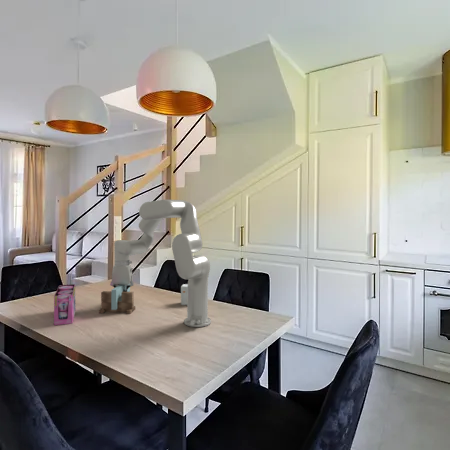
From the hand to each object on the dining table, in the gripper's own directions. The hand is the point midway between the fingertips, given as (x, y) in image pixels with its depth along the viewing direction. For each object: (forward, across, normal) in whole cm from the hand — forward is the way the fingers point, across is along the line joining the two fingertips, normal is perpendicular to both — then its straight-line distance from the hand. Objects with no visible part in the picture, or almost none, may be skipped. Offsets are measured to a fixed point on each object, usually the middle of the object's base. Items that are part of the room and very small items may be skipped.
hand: (122, 296), depth 174 cm
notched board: (+3, 0, +1) cm, 4 cm away
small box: (+6, -35, -8) cm, 36 cm away
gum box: (+6, +22, +17) cm, 28 cm away
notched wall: (+6, 0, +7) cm, 9 cm away
